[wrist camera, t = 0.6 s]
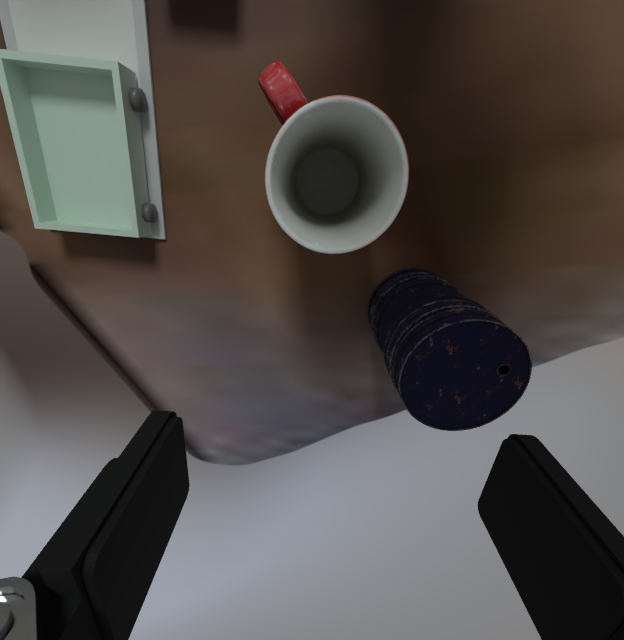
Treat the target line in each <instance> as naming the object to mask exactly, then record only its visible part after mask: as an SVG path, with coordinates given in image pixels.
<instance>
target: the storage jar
mask: <svg viewBox="0 0 624 640" xmlns="http://www.w3.org/2000/svg"><path fill="white" fill-rule="evenodd" d="M368 317H369V321H370V324H371V328H372V331H373V334H374V337H375V340H376V343H377V345H378V346H379V348H380V349H381V350H382V352H383V353H384V359H385V364H386V367H387V370H388V372H389V374H390V376H391V379H392V382H393V384H394V386H395V387H396V389H397V391H398V392H399V395H400V398H401V400H402V403H403V404H404V406H405V408H406V409H407V411H408V412H409V413H410V414H411V415H412V416H413V417H414V418H416V420H418V421H419V422H421V423H423V424H425V425H427V426H429V427H432V428H435V429H440V430H447V431H460V430H467V429H473V428H476V427H480V426H483V425H485V424H487V423H490V422H492V421H494V420H495V419H497V418H499V417H500V416H502V415H503V414H505V413H506V412H507V411H508V410H509V409H511V408H512V407H513V406H514V405H515V404H516V403H517V401H518V400H519V399H520V398H521V396H522V395H523V393H524V391H525V390H526V387H527V385H528V383H529V380H530V376H531V370H532V361H531V355H530V352H529V349H528V347H527V345H526V344H525V342H524V340H523V339H522V338H521V337H520V336H519V335H518V334H517V333H516V332H515V331H513V330H512V329H510V328H509V327H508V326H506V325H505V324H504V323H503V322H502V321H501V320H500V319H499V318H498V317H496V316H495V315H494V314H492V313H491V312H489V311H488V310H486V309H485V308H484V307H483V306H481V305H480V304H478V303H477V302H474V301H472V300H470V299H466V298H465V297H464V295H463V294H462V293H461V292H460V291H459V290H458V289H457V288H455V287H454V286H453V285H451V284H450V283H449V282H447V281H446V280H444V279H443V278H441V277H438V276H437V275H435V274H434V273H432V272H430V271H428V270H424V269H418V268H410V269H404V270H400V271H397V272H395V273H393V274H391V275H389V276H388V277H386V278H385V279H384V280H382V281H381V282H380V283H379V284H378V286H377V287H376V288H375V290H374V291H373V293H372V295H371V298H370V301H369V305H368Z"/></svg>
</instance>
